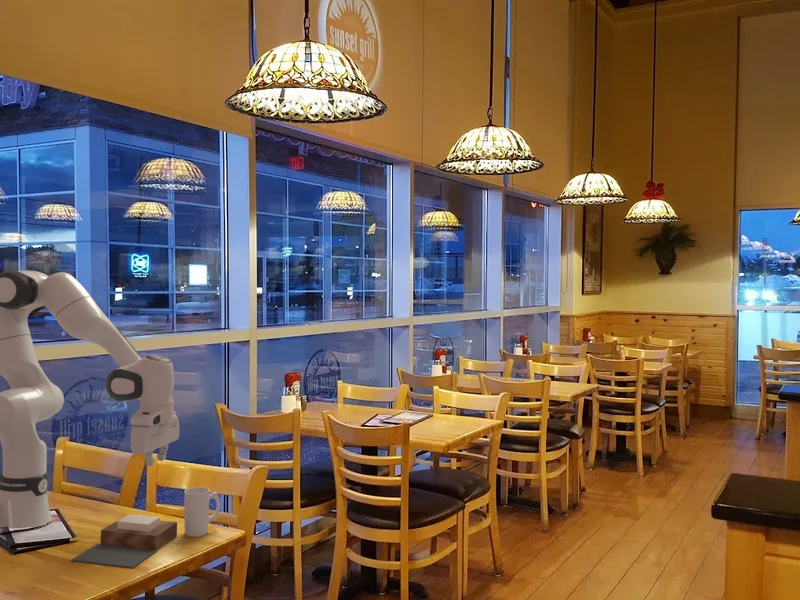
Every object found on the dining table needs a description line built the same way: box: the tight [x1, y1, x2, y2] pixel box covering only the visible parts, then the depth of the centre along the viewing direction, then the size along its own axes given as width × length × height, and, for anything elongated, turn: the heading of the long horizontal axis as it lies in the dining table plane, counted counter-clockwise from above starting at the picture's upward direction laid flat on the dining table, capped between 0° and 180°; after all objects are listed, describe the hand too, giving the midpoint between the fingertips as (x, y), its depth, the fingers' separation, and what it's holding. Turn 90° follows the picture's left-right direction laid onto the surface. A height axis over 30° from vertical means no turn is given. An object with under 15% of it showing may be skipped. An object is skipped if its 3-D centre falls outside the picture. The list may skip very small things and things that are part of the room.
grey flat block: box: [116, 513, 161, 532], centre depth 198 cm, size 9×6×2 cm, turn 79°
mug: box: [183, 486, 221, 538], centre depth 206 cm, size 10×7×12 cm, turn 119°
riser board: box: [100, 516, 178, 551], centre depth 199 cm, size 16×11×4 cm
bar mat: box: [70, 543, 158, 569], centre depth 187 cm, size 17×11×1 cm, turn 79°
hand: (156, 462), depth 206 cm, fingers open, 5 cm apart
